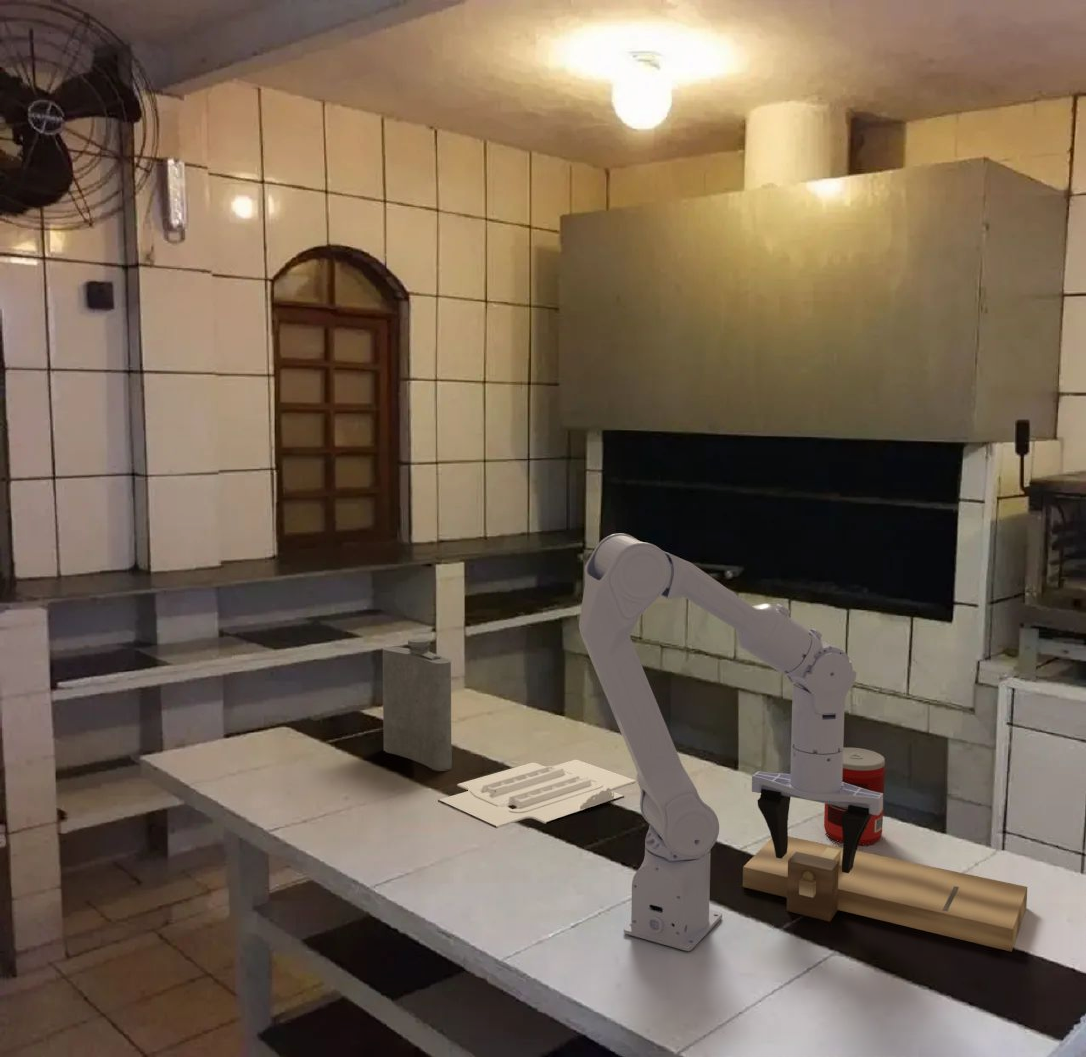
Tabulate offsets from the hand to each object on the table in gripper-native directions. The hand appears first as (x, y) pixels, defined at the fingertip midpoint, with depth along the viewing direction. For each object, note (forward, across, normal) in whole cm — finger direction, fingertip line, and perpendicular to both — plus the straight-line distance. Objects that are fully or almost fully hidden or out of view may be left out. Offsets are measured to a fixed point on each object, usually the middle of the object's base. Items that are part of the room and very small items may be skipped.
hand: (813, 862), depth 122 cm
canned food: (+6, +2, -25) cm, 26 cm away
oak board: (+6, -6, -8) cm, 11 cm away
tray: (+7, +47, -17) cm, 50 cm away
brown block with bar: (+6, 0, -3) cm, 7 cm away
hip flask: (+6, +72, -20) cm, 75 cm away
